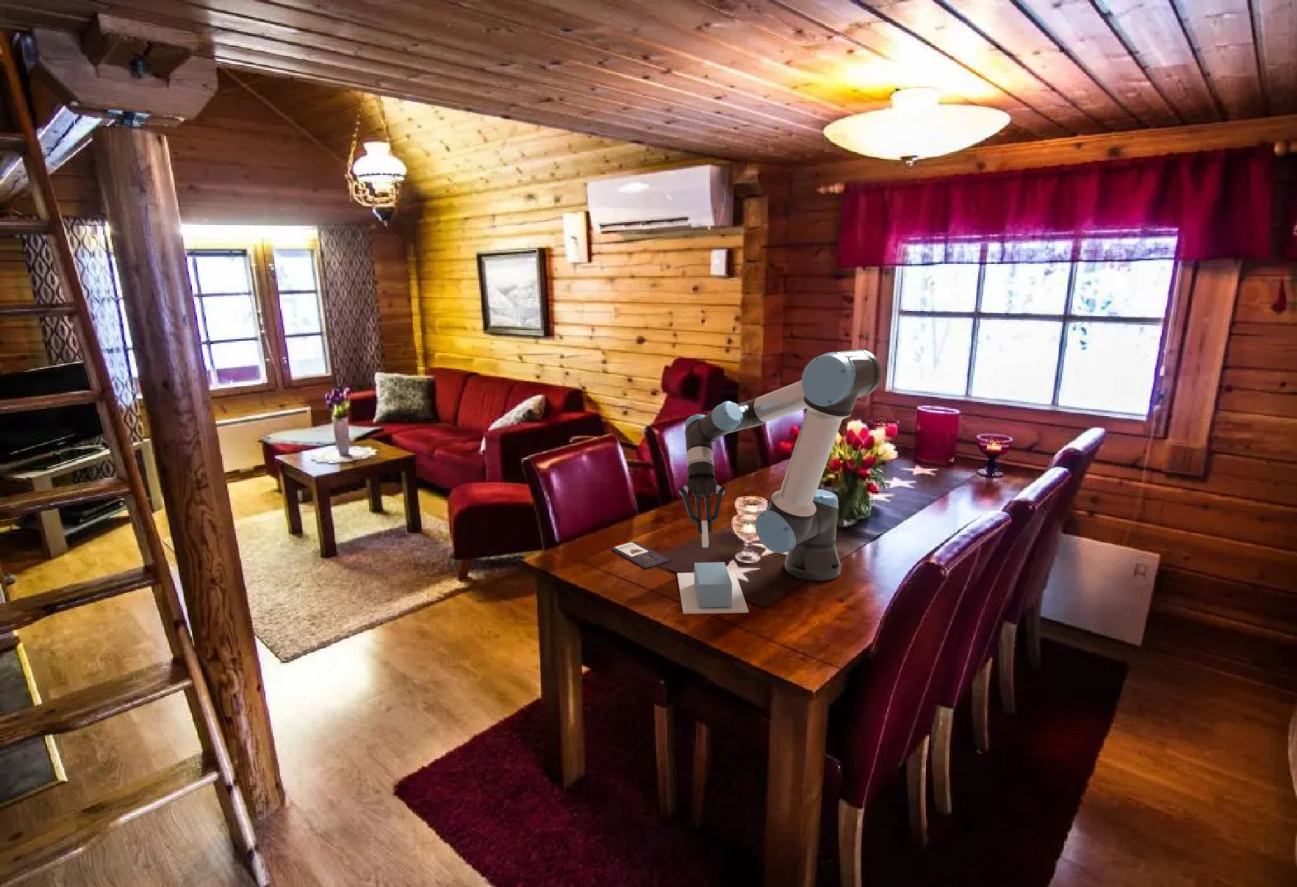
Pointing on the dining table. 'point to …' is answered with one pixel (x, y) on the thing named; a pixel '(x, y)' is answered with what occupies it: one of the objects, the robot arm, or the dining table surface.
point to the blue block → (712, 585)
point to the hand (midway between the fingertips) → (705, 545)
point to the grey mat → (692, 607)
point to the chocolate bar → (640, 555)
